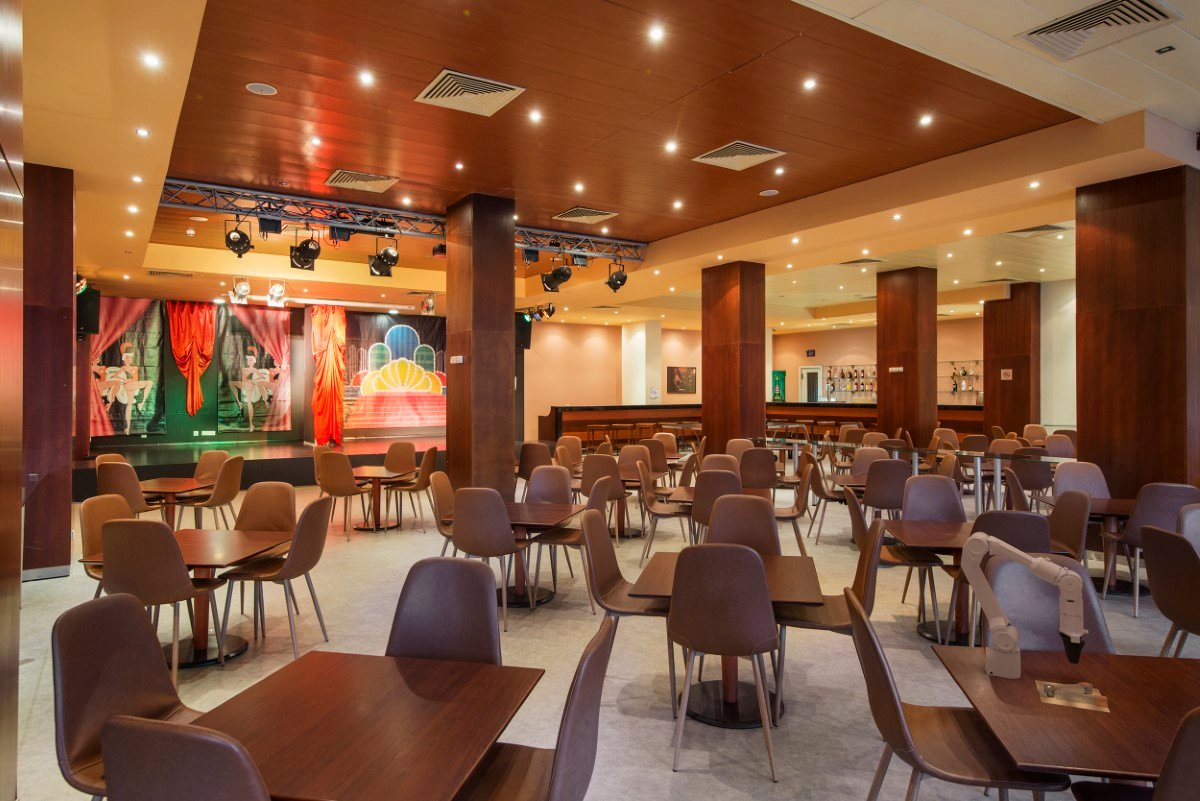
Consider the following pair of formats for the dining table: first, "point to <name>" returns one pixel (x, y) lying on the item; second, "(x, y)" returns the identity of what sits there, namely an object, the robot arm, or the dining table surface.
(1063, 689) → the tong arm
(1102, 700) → the tongs fixed
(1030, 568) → the robot arm
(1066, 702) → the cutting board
